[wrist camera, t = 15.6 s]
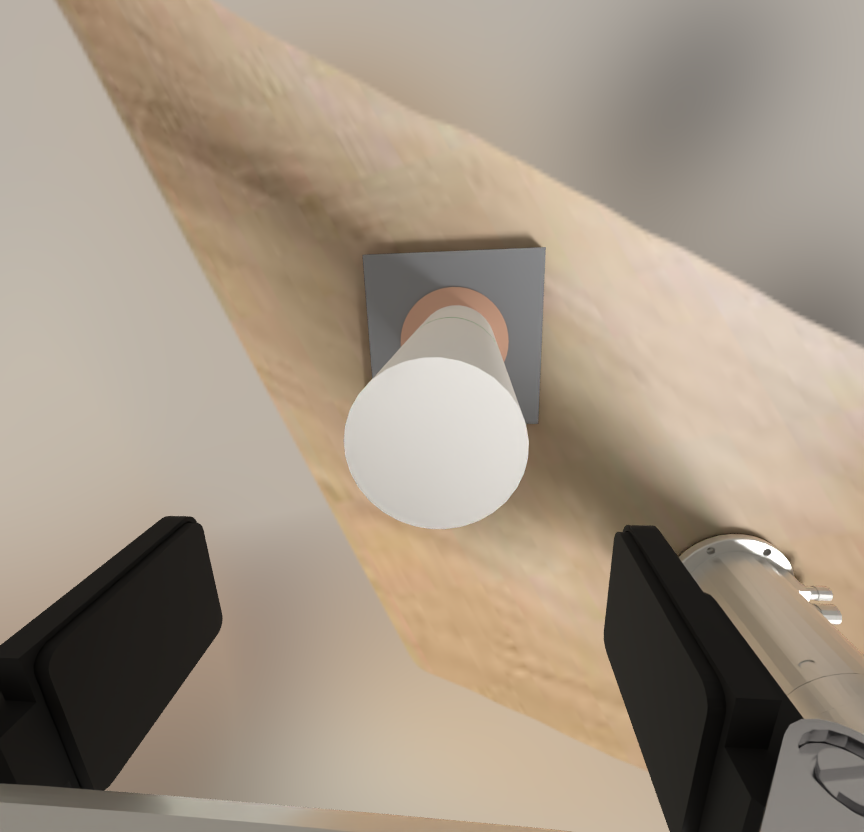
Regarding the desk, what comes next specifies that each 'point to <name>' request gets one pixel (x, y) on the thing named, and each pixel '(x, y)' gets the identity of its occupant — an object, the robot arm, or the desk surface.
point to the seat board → (467, 286)
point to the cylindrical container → (439, 426)
